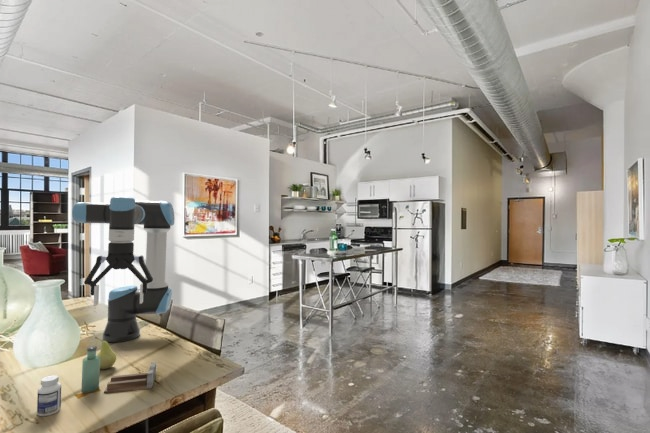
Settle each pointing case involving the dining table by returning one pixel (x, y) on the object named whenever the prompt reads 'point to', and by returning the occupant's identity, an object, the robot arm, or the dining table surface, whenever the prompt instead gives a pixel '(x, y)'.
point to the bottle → (90, 370)
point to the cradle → (132, 381)
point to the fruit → (106, 355)
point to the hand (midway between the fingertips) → (119, 303)
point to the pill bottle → (49, 396)
